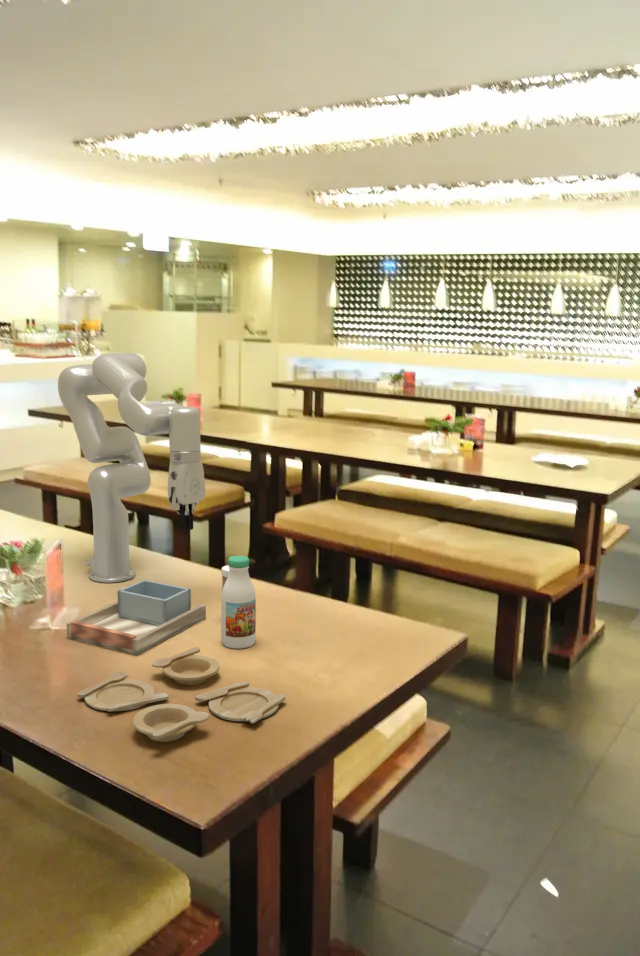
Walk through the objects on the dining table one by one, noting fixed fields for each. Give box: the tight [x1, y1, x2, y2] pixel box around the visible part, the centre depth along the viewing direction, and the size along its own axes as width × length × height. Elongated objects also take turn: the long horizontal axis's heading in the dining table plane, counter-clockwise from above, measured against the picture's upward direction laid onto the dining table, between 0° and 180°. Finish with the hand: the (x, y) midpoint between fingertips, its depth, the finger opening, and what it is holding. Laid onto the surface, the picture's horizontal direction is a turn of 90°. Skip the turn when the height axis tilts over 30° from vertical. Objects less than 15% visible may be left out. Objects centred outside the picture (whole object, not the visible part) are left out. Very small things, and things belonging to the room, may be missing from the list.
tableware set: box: [76, 646, 286, 743], centre depth 158 cm, size 35×29×4 cm
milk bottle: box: [220, 555, 257, 650], centre depth 186 cm, size 8×8×20 cm
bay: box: [66, 600, 207, 657], centre depth 195 cm, size 20×26×4 cm
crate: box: [117, 579, 192, 626], centre depth 199 cm, size 14×10×6 cm
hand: (186, 529), depth 208 cm, fingers closed
